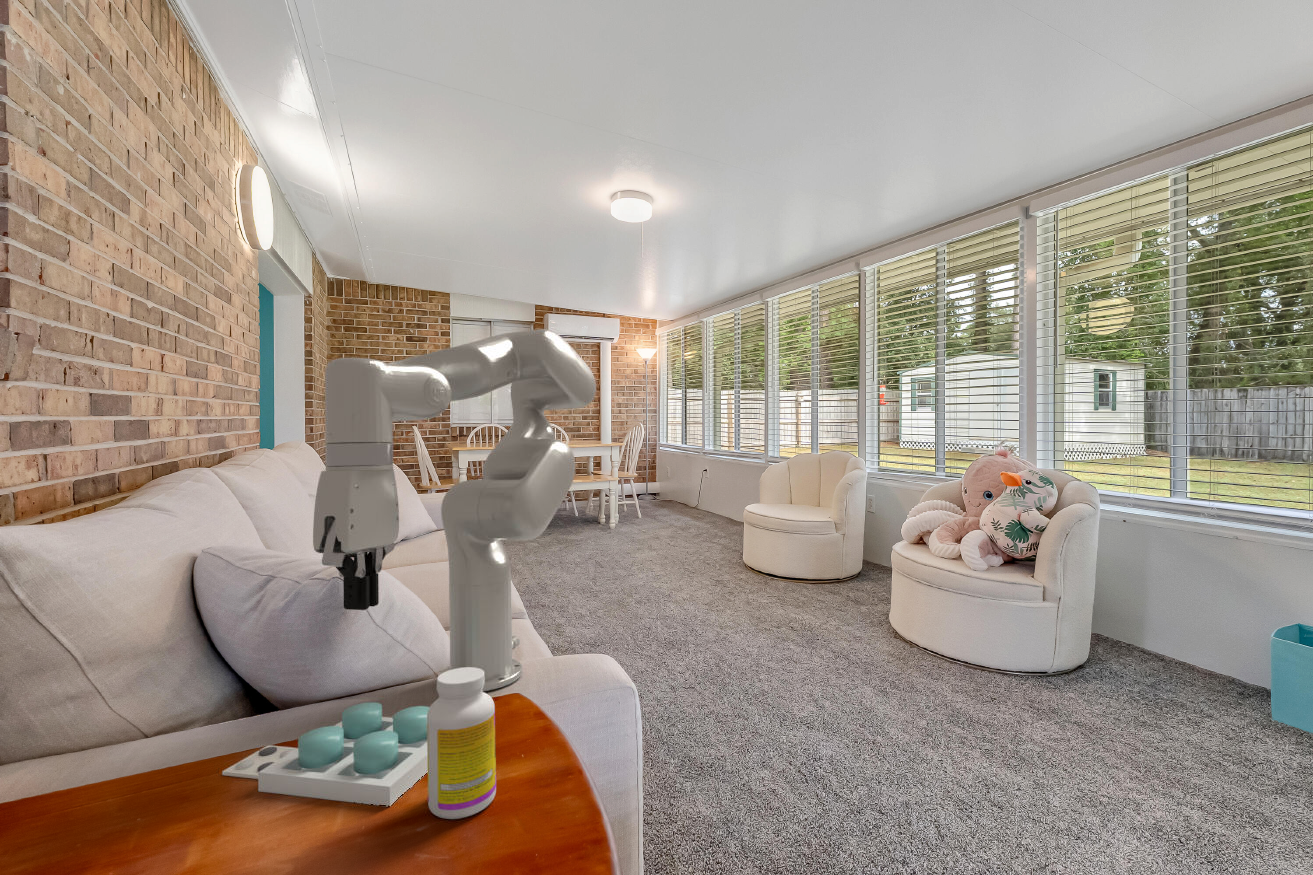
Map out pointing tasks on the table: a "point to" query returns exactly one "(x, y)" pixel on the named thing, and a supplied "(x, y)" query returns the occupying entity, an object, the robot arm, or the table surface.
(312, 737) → the button
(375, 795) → the board
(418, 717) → the button
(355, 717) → the button
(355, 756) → the button
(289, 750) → the tile
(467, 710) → the supplement bottle
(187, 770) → the table surface
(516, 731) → the table surface
